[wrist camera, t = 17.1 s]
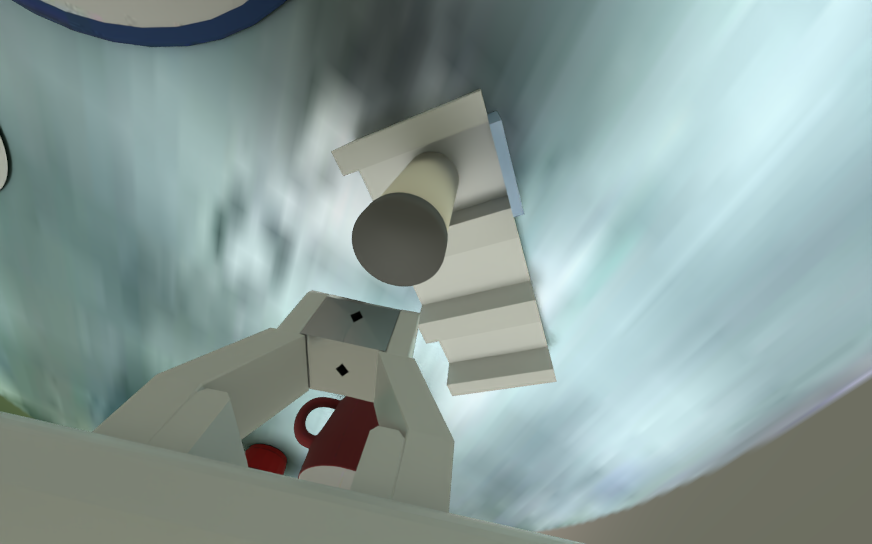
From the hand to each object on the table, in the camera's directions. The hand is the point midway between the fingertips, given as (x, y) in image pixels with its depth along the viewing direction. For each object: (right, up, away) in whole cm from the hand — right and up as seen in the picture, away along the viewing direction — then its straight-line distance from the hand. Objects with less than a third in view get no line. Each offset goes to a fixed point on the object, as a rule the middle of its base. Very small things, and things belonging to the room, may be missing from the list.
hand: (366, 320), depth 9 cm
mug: (-6, -12, +27) cm, 31 cm away
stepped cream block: (+4, +2, +17) cm, 18 cm away
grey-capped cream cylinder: (+2, +7, +12) cm, 15 cm away
